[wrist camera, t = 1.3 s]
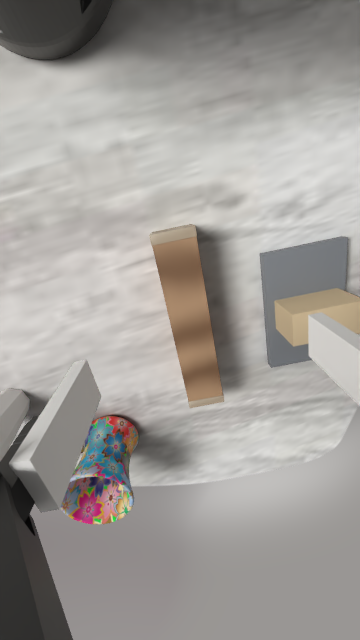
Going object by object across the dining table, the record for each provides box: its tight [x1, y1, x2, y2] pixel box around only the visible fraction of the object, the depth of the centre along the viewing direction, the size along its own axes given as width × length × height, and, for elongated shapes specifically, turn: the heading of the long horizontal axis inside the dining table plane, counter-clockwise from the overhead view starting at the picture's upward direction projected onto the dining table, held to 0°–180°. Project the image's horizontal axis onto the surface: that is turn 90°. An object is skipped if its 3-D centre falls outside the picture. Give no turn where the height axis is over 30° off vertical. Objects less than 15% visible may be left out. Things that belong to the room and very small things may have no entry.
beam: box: [149, 224, 224, 408], centre depth 31 cm, size 22×5×5 cm, turn 11°
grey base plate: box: [260, 237, 360, 368], centre depth 31 cm, size 16×10×6 cm, turn 11°
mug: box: [60, 416, 139, 524], centre depth 36 cm, size 12×9×11 cm
